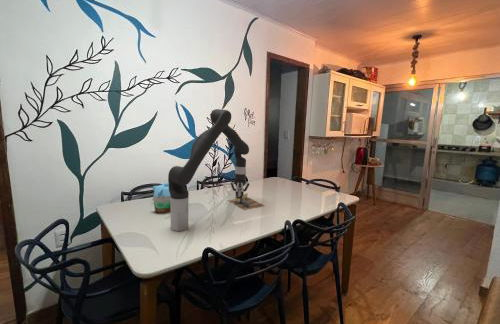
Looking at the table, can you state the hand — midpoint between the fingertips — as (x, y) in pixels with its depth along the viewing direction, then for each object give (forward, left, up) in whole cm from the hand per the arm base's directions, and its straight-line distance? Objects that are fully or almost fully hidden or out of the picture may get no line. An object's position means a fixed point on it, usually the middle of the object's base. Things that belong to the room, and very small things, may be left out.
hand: (239, 196), depth 173 cm
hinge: (-3, -4, -5) cm, 7 cm away
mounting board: (-3, -4, -6) cm, 8 cm away
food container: (+12, +50, -6) cm, 52 cm away
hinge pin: (0, 0, -4) cm, 4 cm away
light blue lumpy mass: (+31, +40, -6) cm, 51 cm away
